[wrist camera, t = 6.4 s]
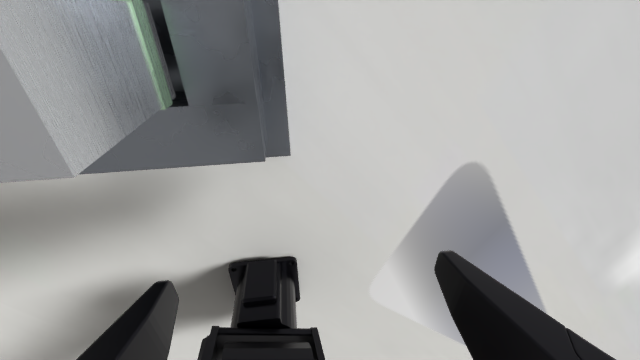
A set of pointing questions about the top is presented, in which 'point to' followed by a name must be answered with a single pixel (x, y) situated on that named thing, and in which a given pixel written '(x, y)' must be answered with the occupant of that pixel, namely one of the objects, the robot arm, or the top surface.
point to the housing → (212, 89)
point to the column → (74, 82)
